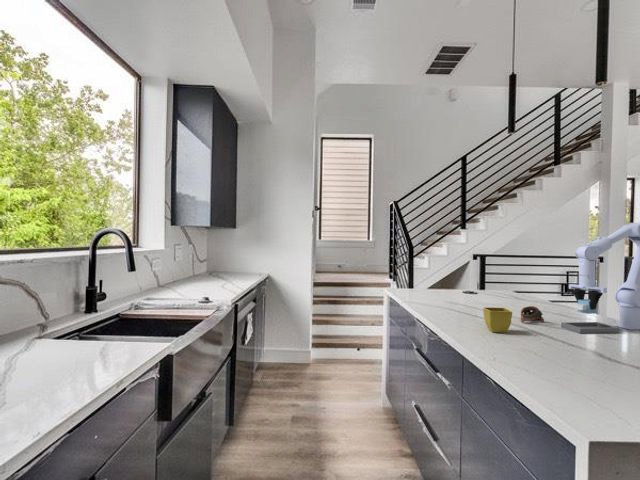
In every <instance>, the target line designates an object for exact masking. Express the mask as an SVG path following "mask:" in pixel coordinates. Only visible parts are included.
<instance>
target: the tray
mask: <svg viewBox="0 0 640 480" xmlns="http://www.w3.org/2000/svg"><path fill="white" fill-rule="evenodd" d="M560 323H561V324H560V328H563V329H564V330H565V329H566V330H568V331H571V332H573V333H577V334H581V335H582V334H583V335H588V334H590V335H591V334H593V335H595V334H619V333H620V331H619V330H620V329H619V328H620V327H618V326H614V325H613V326H612V325H609V324H606V323H602V322H598V321H581V322H580V321H575V322H574V321H573V322H572V321H571V322H565V321H564V322H560Z"/></svg>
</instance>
